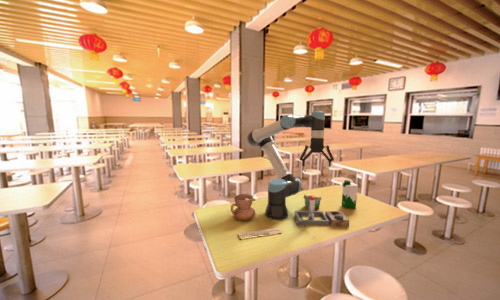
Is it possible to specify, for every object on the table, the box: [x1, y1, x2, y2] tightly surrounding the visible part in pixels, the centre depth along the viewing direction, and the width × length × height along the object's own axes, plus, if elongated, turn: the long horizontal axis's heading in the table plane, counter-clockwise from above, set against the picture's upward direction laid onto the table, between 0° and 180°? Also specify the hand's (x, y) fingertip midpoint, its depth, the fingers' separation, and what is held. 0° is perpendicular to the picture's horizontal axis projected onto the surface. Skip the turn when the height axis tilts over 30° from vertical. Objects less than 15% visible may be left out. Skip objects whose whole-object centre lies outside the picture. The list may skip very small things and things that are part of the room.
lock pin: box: [307, 195, 316, 220], centre depth 130 cm, size 4×4×16 cm
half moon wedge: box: [303, 193, 322, 211], centre depth 146 cm, size 12×6×10 cm, turn 62°
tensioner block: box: [324, 210, 350, 228], centre depth 128 cm, size 10×12×7 cm
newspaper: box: [237, 227, 282, 239], centre depth 116 cm, size 24×7×2 cm, turn 105°
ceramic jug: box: [230, 193, 256, 222], centre depth 135 cm, size 18×14×14 cm
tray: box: [294, 210, 330, 227], centre depth 131 cm, size 18×13×4 cm
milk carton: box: [341, 179, 359, 210], centre depth 150 cm, size 9×9×20 cm
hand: (316, 171), depth 129 cm, fingers open, 13 cm apart
